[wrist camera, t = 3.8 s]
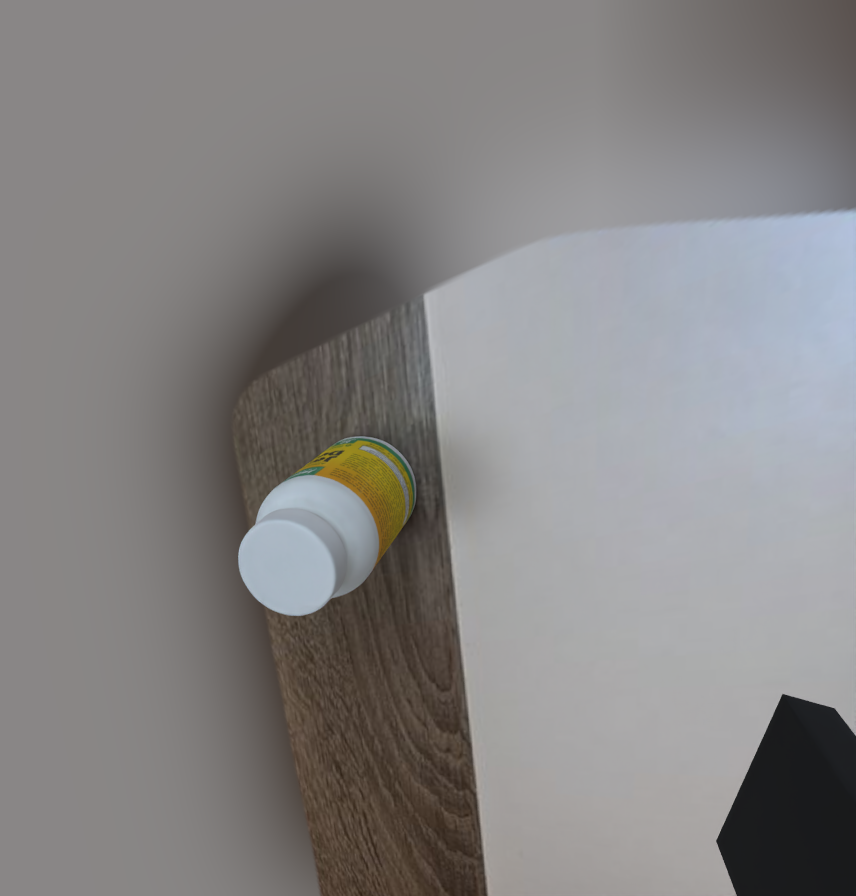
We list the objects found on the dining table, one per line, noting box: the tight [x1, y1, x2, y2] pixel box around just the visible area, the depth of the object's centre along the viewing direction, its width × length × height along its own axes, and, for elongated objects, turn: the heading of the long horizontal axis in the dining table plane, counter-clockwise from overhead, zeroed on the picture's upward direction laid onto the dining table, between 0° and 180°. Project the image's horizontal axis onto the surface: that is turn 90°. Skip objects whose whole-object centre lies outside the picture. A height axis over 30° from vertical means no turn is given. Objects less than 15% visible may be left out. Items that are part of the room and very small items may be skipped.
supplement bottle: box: [238, 436, 416, 616], centre depth 30 cm, size 5×5×10 cm
